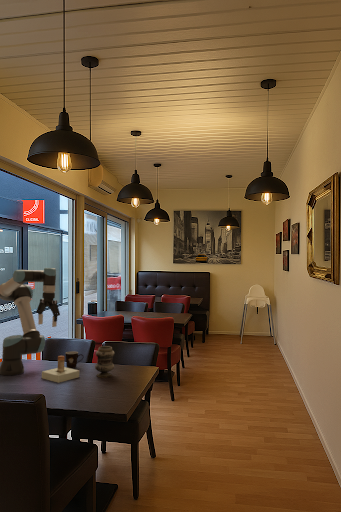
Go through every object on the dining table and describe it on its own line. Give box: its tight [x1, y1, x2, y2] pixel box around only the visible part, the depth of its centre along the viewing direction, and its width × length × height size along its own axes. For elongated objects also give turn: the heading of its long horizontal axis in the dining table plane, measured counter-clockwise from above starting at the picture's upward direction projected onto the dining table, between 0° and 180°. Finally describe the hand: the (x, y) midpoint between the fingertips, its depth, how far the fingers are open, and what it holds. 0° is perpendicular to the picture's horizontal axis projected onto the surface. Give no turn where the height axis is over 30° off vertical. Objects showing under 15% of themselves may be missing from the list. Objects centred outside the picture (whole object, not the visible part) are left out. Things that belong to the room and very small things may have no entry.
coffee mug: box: [65, 351, 85, 369], centre depth 257 cm, size 12×9×10 cm
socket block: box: [41, 366, 80, 384], centre depth 231 cm, size 16×16×4 cm
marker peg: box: [57, 355, 66, 373], centre depth 232 cm, size 4×4×13 cm
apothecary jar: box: [94, 345, 115, 379], centre depth 238 cm, size 12×12×18 cm
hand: (47, 325), depth 237 cm, fingers open, 13 cm apart
